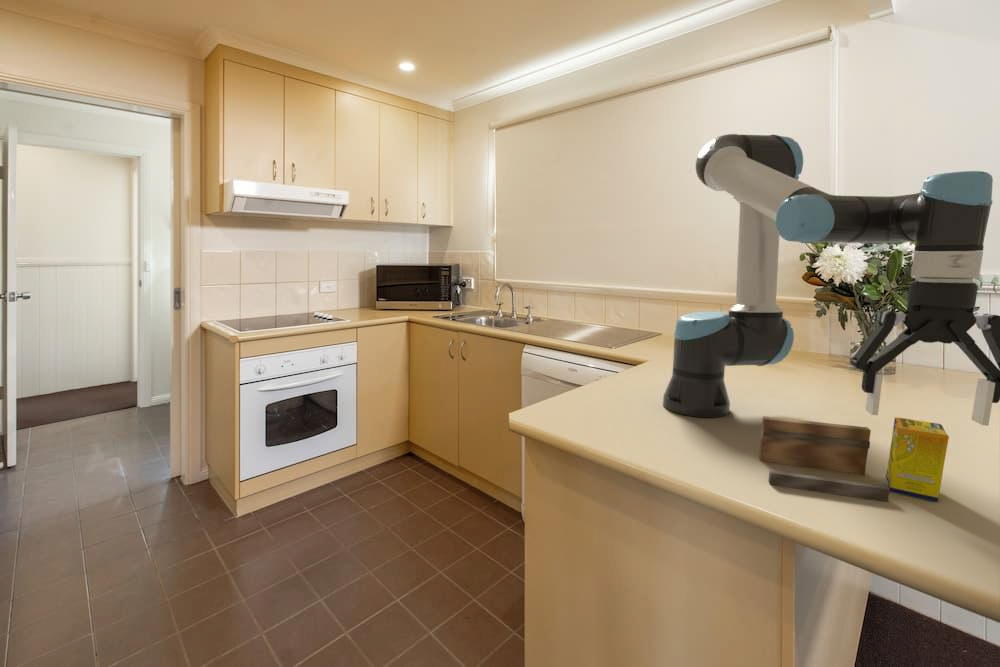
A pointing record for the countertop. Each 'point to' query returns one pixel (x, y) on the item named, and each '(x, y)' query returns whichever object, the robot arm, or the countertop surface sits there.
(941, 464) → the supplement box
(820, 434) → the wooden rack
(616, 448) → the countertop surface
